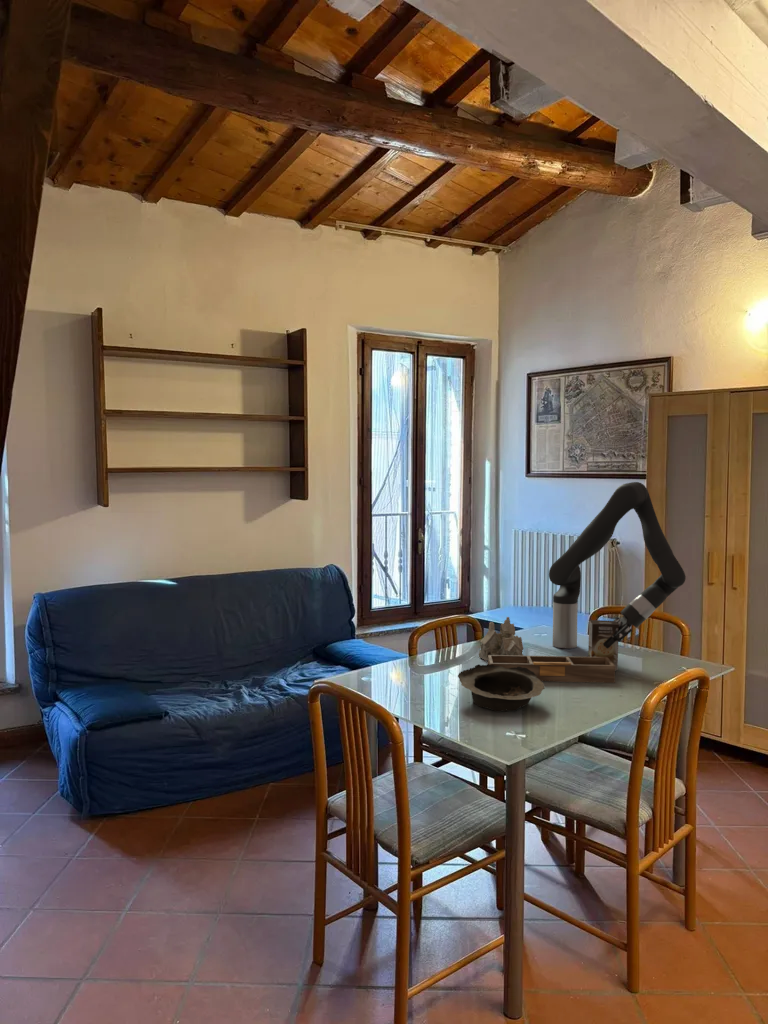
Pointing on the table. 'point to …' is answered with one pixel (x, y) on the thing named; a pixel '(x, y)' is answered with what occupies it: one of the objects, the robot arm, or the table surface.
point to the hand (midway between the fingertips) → (602, 643)
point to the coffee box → (602, 640)
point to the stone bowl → (501, 686)
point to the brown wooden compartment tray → (560, 667)
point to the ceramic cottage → (501, 641)
